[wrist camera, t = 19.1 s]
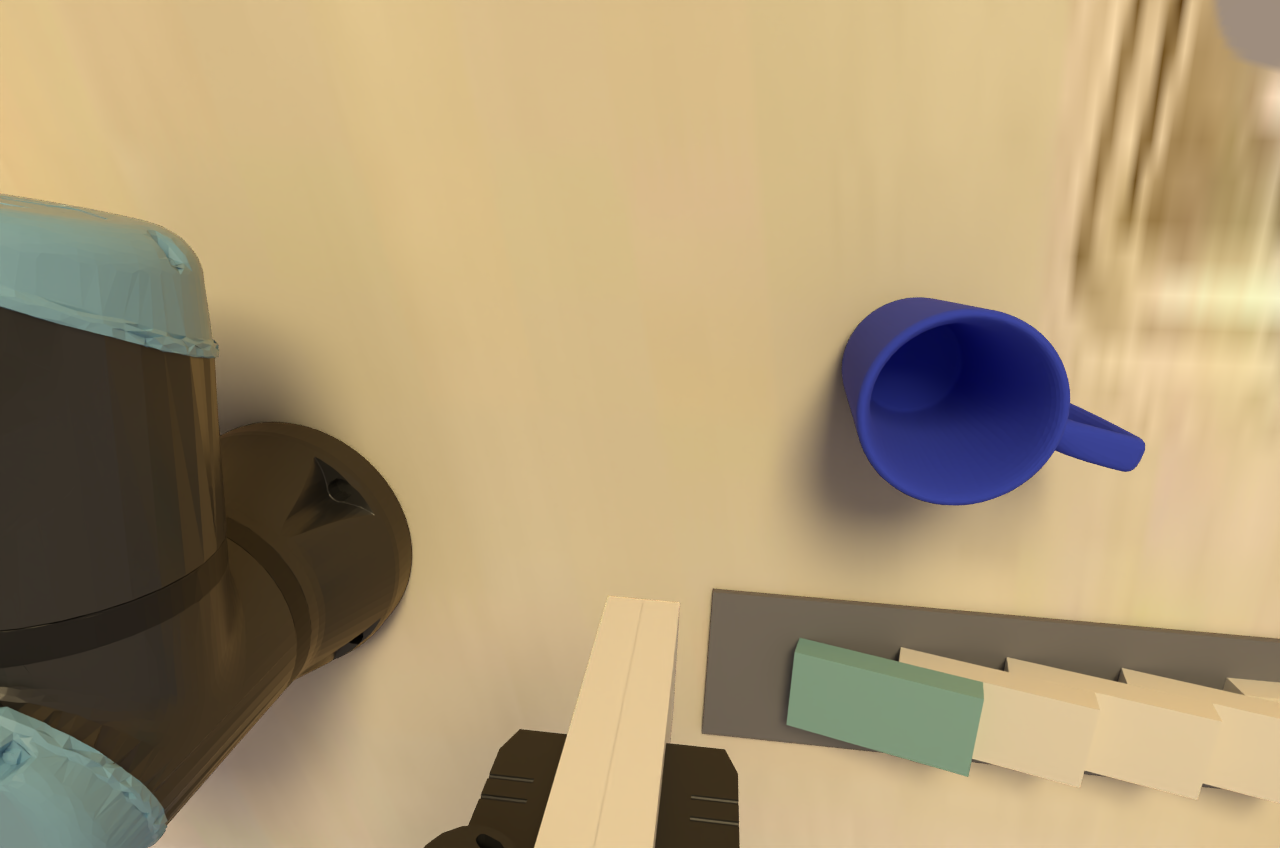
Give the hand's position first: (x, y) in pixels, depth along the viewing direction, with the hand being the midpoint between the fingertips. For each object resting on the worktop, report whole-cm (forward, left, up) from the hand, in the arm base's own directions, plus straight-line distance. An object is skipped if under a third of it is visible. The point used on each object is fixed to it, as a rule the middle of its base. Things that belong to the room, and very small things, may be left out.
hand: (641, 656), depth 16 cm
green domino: (+7, -18, -25) cm, 32 cm away
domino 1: (+13, -18, -25) cm, 34 cm away
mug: (+13, +1, -27) cm, 30 cm away
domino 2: (+19, -18, -25) cm, 36 cm away
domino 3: (+25, -18, -25) cm, 40 cm away
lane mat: (+19, -18, -26) cm, 37 cm away
